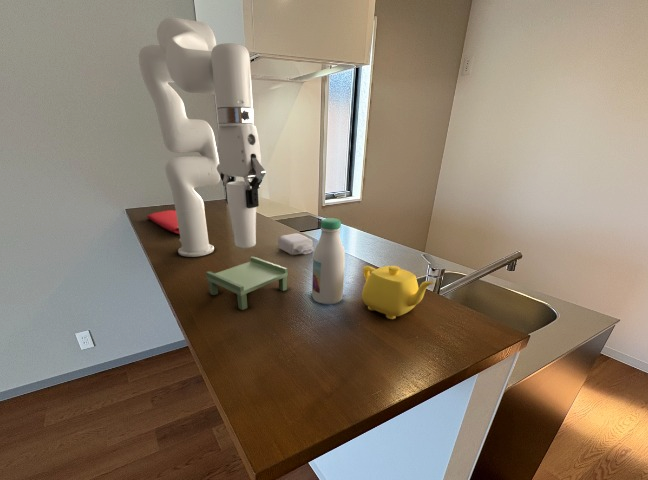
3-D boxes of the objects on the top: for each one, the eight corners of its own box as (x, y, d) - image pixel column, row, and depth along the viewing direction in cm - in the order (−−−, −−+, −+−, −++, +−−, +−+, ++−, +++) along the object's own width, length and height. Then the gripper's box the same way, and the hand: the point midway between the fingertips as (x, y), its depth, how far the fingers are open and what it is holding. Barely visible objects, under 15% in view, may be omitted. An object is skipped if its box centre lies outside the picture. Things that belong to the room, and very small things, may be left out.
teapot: (438, 316, 73) (448, 273, 68) (411, 334, 66) (420, 287, 62) (373, 290, 85) (378, 252, 80) (346, 303, 79) (349, 262, 74)
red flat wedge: (177, 214, 171) (176, 207, 169) (208, 230, 141) (207, 222, 140) (147, 219, 163) (145, 211, 161) (173, 237, 133) (171, 228, 132)
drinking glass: (254, 250, 76) (250, 185, 70) (227, 249, 78) (221, 184, 71) (262, 242, 82) (258, 181, 75) (237, 241, 84) (231, 180, 77)
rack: (208, 293, 85) (205, 272, 82) (254, 276, 95) (252, 256, 92) (242, 310, 76) (240, 287, 73) (288, 289, 87) (287, 268, 84)
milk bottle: (344, 293, 84) (350, 217, 75) (339, 306, 77) (344, 225, 68) (316, 289, 86) (318, 215, 77) (308, 302, 80) (310, 222, 70)
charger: (299, 261, 106) (278, 248, 118) (322, 256, 110) (299, 244, 121) (299, 247, 104) (277, 236, 115) (322, 242, 108) (299, 232, 119)
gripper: (277, 117, 64) (279, 207, 73) (225, 121, 75) (232, 199, 83) (248, 116, 59) (254, 213, 68) (197, 120, 70) (207, 203, 78)
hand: (242, 204), depth 75 cm, fingers closed on drinking glass, 6 cm apart
